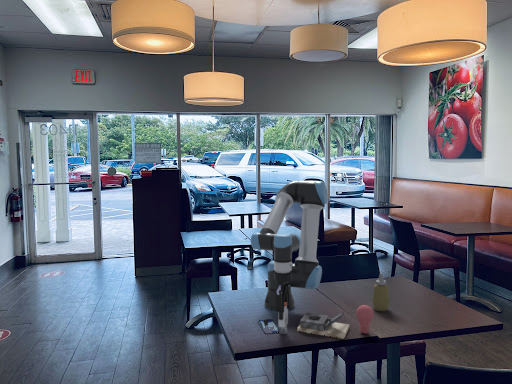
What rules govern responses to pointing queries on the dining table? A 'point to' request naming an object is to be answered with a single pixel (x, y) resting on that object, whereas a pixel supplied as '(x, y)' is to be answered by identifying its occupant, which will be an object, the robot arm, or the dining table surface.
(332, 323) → the tab
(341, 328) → the block
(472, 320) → the dining table surface
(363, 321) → the light bulb
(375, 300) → the squeeze bottle
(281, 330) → the pin
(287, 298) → the robot arm
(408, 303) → the dining table surface
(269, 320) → the smartphone
